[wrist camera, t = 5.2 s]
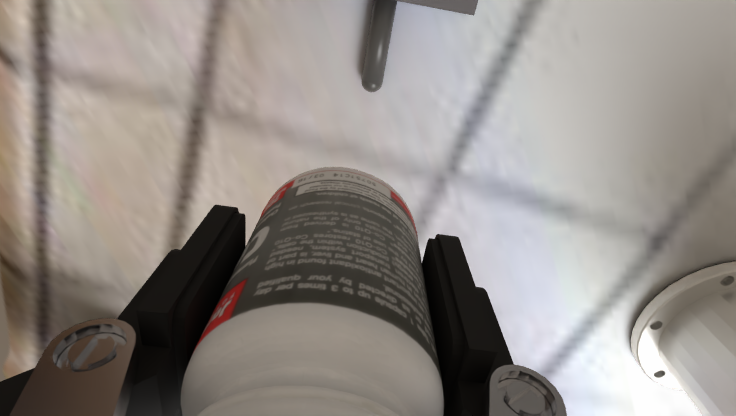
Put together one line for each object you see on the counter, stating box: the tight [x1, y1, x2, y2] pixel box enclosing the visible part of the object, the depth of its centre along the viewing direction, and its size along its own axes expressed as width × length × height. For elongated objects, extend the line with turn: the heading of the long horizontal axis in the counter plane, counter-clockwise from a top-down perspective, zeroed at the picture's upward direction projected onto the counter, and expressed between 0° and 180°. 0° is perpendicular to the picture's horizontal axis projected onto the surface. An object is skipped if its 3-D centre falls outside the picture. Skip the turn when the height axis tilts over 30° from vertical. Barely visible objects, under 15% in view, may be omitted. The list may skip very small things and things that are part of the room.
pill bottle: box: [181, 167, 444, 416], centre depth 9 cm, size 5×5×8 cm
